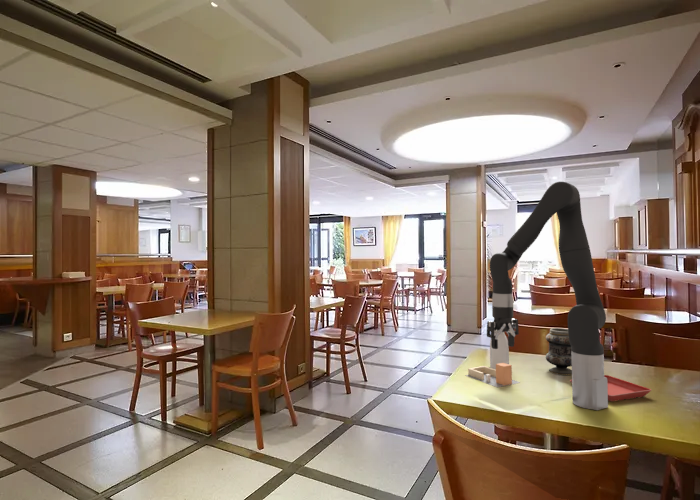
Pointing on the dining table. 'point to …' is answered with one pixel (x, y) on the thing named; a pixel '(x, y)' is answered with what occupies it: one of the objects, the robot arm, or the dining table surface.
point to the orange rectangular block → (503, 373)
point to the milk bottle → (499, 351)
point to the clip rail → (486, 375)
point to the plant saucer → (623, 389)
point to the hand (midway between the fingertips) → (503, 347)
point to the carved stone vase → (559, 351)
